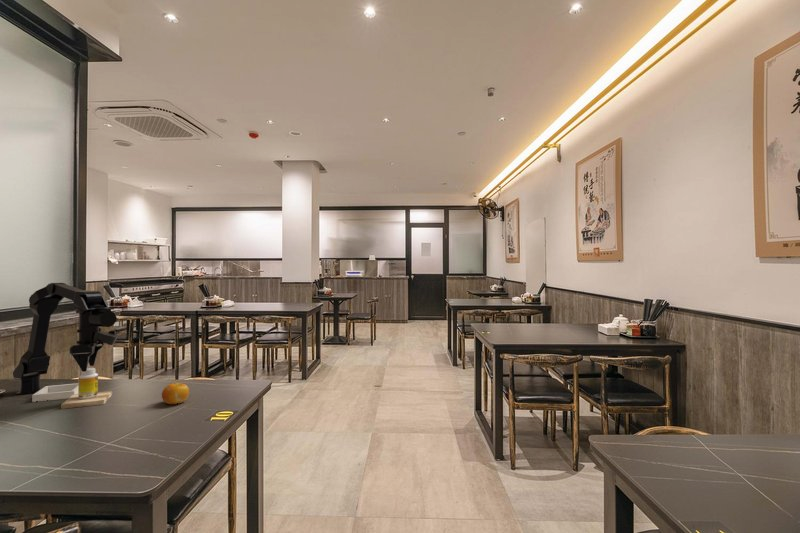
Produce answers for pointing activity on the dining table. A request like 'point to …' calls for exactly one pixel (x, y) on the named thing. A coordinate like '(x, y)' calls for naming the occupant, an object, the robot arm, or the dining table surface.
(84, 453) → the dining table surface
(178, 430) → the dining table surface
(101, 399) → the oak serving board
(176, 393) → the fruit
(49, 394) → the grey tray
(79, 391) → the supplement bottle
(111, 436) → the dining table surface
